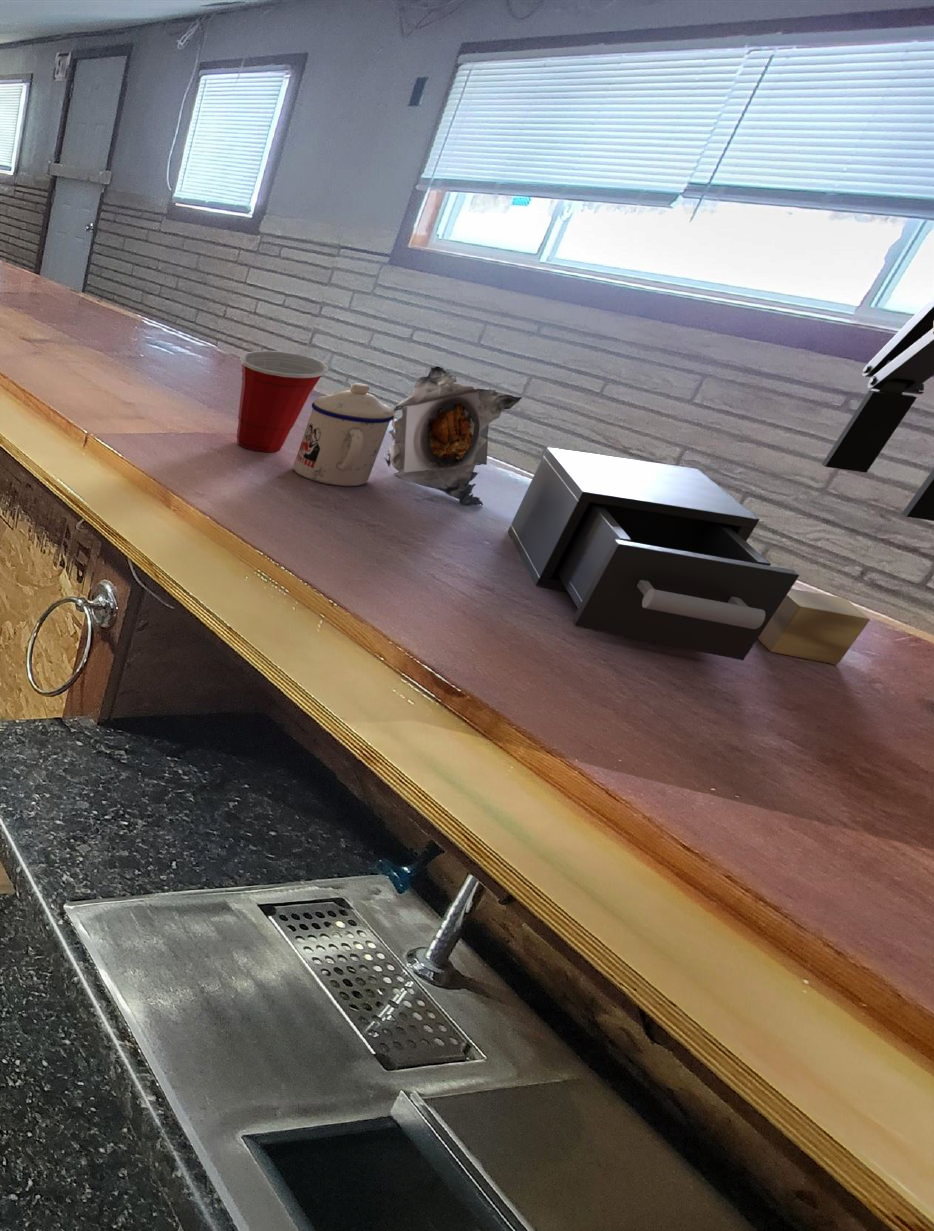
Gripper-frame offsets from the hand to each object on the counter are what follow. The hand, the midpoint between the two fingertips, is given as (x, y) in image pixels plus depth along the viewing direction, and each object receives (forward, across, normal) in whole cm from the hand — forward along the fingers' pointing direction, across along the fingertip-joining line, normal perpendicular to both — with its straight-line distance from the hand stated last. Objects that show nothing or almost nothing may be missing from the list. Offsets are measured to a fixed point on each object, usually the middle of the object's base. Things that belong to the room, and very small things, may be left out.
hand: (882, 492), depth 72 cm
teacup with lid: (+14, -27, -35) cm, 47 cm away
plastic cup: (+15, -37, -44) cm, 60 cm away
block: (+14, 0, +1) cm, 14 cm away
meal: (+14, -32, -24) cm, 43 cm away
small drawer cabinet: (+14, -10, -11) cm, 21 cm away
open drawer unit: (+13, +3, -11) cm, 18 cm away
